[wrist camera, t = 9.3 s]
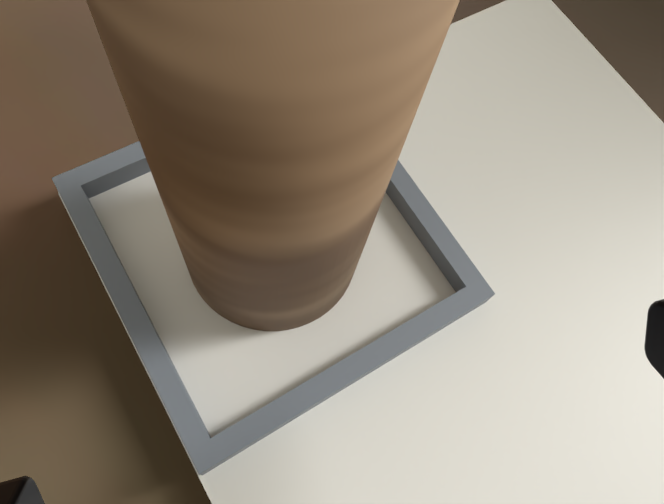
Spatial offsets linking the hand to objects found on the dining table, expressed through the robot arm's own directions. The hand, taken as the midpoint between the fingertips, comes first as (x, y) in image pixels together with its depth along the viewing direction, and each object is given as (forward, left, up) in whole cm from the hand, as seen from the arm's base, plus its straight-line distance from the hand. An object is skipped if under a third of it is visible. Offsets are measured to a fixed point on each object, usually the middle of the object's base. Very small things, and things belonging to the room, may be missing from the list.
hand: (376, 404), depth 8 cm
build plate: (+1, -6, -8) cm, 11 cm away
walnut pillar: (+6, -2, -8) cm, 10 cm away
